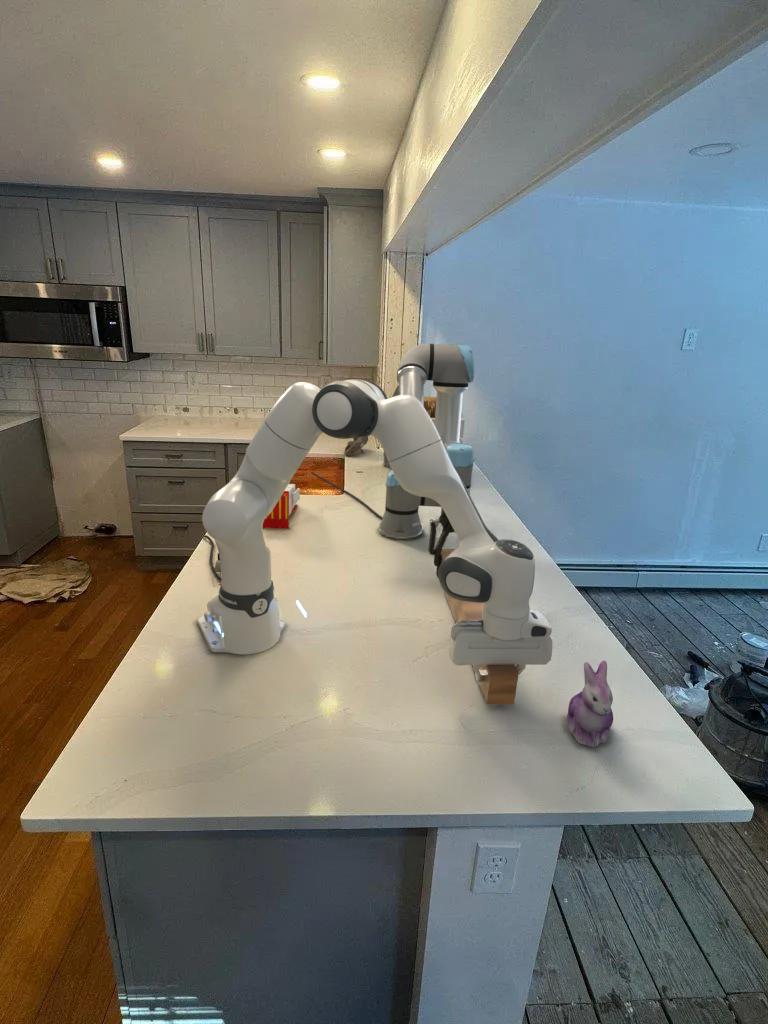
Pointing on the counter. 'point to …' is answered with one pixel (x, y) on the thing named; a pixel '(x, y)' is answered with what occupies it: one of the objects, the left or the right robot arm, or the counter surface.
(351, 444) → the fossil
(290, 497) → the toy
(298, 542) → the counter surface
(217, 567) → the figurine character
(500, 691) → the bar
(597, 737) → the figurine
